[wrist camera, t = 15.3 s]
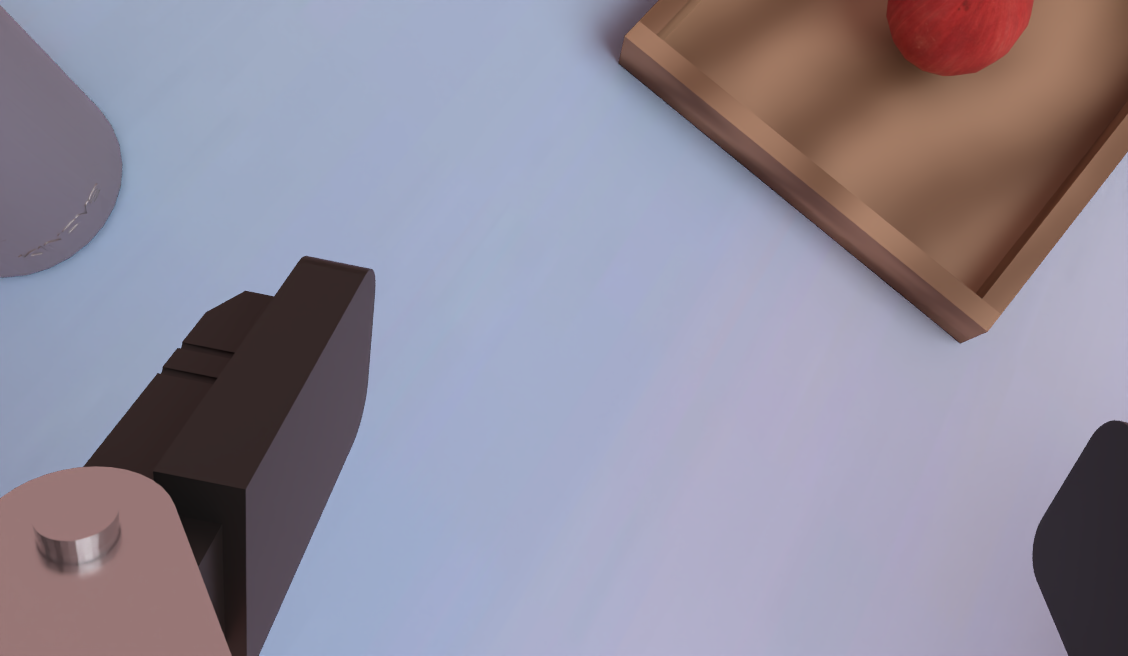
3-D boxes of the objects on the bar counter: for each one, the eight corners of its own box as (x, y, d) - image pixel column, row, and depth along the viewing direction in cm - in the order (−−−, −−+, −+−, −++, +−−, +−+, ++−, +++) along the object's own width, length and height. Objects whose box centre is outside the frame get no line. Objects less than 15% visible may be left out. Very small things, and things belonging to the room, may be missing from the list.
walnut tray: (618, 63, 45) (624, 36, 43) (873, -206, 49) (892, -245, 46) (960, 343, 43) (987, 331, 41) (1198, 40, 47) (1235, 12, 44)
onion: (837, 24, 45) (905, -83, 37) (936, -29, 46) (1023, -145, 38) (907, 126, 44) (992, 38, 36) (1007, 70, 45) (1111, -28, 37)
